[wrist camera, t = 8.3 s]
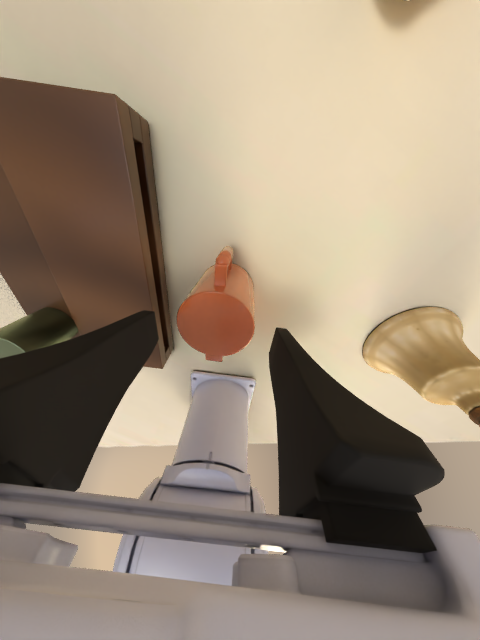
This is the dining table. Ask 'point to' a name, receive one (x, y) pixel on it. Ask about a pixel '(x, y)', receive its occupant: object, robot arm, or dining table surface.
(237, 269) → the jug
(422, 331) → the hand bell
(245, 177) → the dining table surface
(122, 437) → the dining table surface
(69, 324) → the tin
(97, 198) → the step shelf
